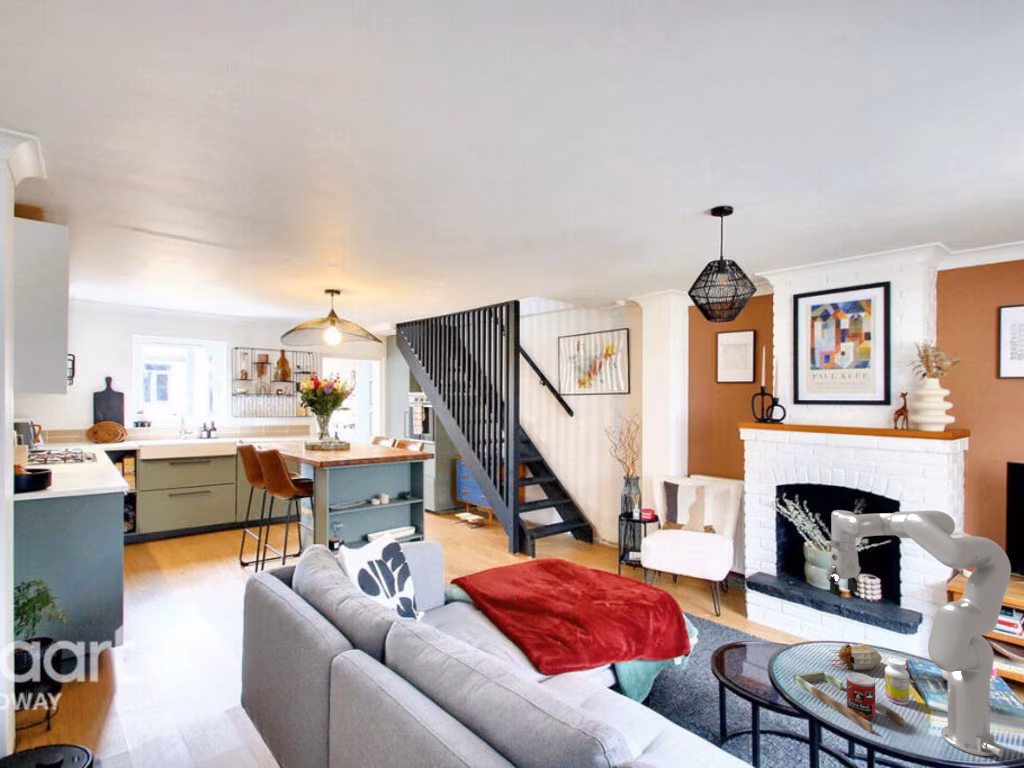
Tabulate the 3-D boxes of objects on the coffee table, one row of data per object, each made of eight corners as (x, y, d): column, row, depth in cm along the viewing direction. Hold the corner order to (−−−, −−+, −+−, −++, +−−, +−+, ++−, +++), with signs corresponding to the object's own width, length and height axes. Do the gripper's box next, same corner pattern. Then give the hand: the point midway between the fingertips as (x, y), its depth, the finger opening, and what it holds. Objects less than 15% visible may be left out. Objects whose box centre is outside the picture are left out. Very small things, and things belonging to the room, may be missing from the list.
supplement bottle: (887, 692, 188) (887, 654, 188) (911, 700, 183) (911, 661, 183) (882, 700, 183) (882, 661, 183) (907, 708, 178) (906, 668, 178)
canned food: (844, 713, 175) (844, 678, 175) (849, 703, 181) (849, 669, 181) (872, 723, 170) (872, 687, 170) (877, 712, 175) (877, 677, 176)
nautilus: (837, 677, 198) (812, 660, 213) (894, 673, 200) (865, 655, 215) (835, 655, 199) (810, 639, 214) (892, 650, 200) (863, 634, 215)
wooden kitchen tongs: (914, 724, 169) (914, 716, 169) (869, 732, 165) (869, 724, 165) (833, 676, 198) (833, 669, 198) (793, 682, 194) (793, 675, 194)
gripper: (837, 550, 194) (837, 599, 193) (869, 545, 201) (869, 592, 200) (817, 544, 201) (817, 592, 200) (849, 540, 208) (849, 586, 207)
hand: (843, 592), depth 200 cm, fingers open, 9 cm apart
